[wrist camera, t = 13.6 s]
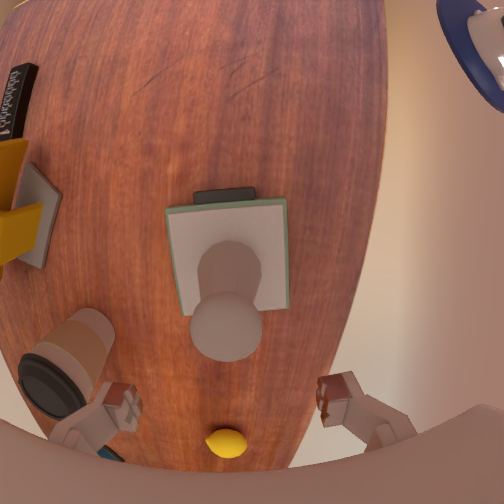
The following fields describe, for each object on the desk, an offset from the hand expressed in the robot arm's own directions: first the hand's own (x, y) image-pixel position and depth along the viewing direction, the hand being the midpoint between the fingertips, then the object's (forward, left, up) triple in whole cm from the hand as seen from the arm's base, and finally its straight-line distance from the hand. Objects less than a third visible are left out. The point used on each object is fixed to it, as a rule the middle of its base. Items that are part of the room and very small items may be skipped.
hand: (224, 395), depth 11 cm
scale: (0, 0, -20) cm, 20 cm away
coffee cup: (+20, +9, -20) cm, 30 cm away
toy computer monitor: (+26, -7, -20) cm, 34 cm away
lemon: (+4, +31, -20) cm, 37 cm away
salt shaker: (0, 0, -17) cm, 17 cm away
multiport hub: (+28, -24, -20) cm, 42 cm away
